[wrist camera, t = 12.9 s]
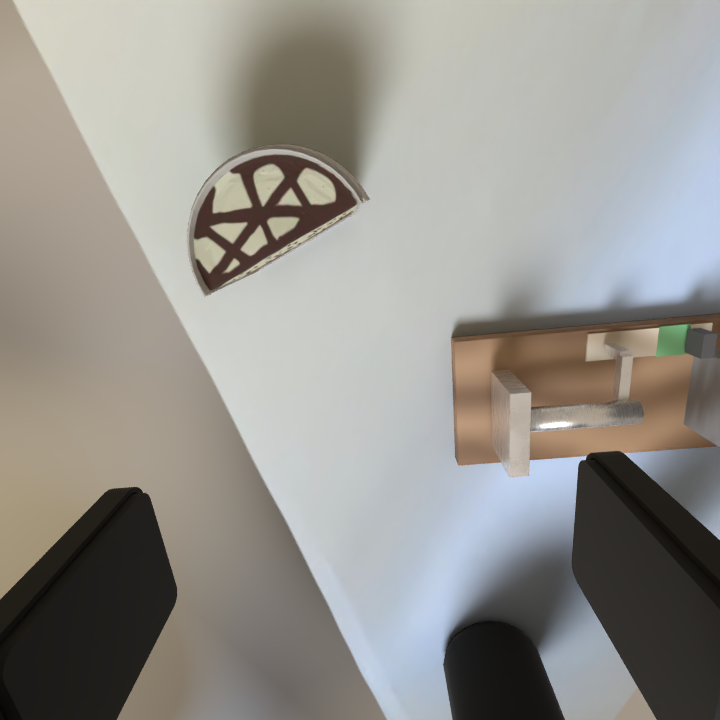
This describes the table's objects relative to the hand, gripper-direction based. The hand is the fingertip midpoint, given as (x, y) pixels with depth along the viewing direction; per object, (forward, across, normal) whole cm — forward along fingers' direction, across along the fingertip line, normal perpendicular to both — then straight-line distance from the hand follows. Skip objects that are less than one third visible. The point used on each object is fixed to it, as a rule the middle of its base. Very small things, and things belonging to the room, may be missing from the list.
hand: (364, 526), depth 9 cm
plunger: (+26, -15, +9) cm, 32 cm away
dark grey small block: (+26, -26, +6) cm, 38 cm away
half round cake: (+28, +6, -8) cm, 30 cm away
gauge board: (+28, -19, +10) cm, 36 cm away
